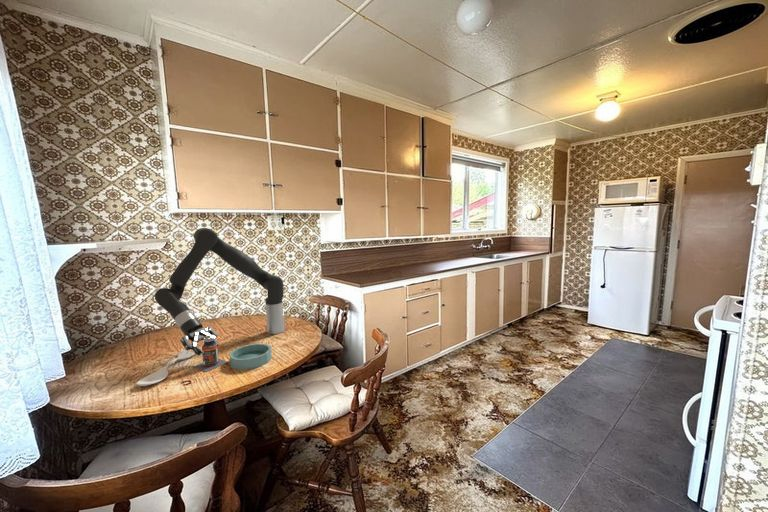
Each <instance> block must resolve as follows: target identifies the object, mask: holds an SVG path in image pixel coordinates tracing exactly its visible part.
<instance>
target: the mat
mask: <svg viewBox="0 0 768 512" xmlns="http://www.w3.org/2000/svg"><path fill="white" fill-rule="evenodd" d="M226 364H229V361H227V360H224V359H221V358H218V363H217V364H216V365H214V366H211V367H205V366H203V362H201V363H198V364H197V365H194V366H192V368H194V369H197V370H199V371H202V372H205V373H208V372H210V371H213V370H215V369H216V368H220V367H221V366H224V365H226Z"/></svg>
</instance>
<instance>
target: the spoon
mask: <svg viewBox="0 0 768 512" xmlns="http://www.w3.org/2000/svg"><path fill="white" fill-rule="evenodd" d="M199 349H200V350H201V347H199ZM193 355H196V354H195V352H194V351H193V350H191V349H189V350H186V349H184V348H181V349H180V351H179V352H178V354H177V357H175V358H173V359H172V360H169V361H168V362H166V364H165V365H164V366H163V367H161V368H160V369H158V370H156V371H154V372H152V373H150V374H148V375H146V376H144V377H142V378H141V379H139V380H138V381H136V383H135V384H136V385H137V386H139V387H145V386H150V385H154V384H158V383H159V382H162V381H163V380H164V379H166V378H167V377H168V375H169V369H168V367H169V366H171V365H174V364H175V362H177V361H181V360H186V359H189V358H191V357H192V356H193Z"/></svg>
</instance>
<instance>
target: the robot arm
mask: <svg viewBox="0 0 768 512" xmlns="http://www.w3.org/2000/svg"><path fill="white" fill-rule="evenodd" d="M193 239H194V241H195V242H194V243H193V246H192V247H191V250H189V252H188V254H187V255H186V256H184V258H183V259H182V260H181V262H180V263H179V264H178V265H177V266H176V268H175V269H174V271H173V272H172V274H171V276H170V277H169V279H168V281H169V283H171V285H170V288H168V287H162V288H159V289H157V290H156V291H155V293H154V299H155V302H157V304H158V305H159V306H160V307H161V308H162V309H163V310H165V311H167V313H169V315H170V316H171V318H172V319H173V321H174V322H175V324H176V326H177V327H178V328H179V329H180V330H181V332H182V334H183V336H182V337H181V338H180V339H179V340H180V342H181V344H182V346H183V347H184V348H185V349H186V350H185V349H184V350H185V351H187V350H188V351H190V350H191V351H194V352H195V354H194V355H196V356H200V355H202V349H201V348H200V347H199V346H198V345H197V344H198V343H200V341H204V340H206V339H210V338H213V339H214V341H215V343H216V344H217V348H218V347H219V346H220V343H219V342H218V340H217V338H218V336H219V334H218V332H216V331H215V329H214V328H213V327H212V326H211V325H210V326H208V327H207V328H204V327H203V324H202V323H201V321H200V320H199V319H198V317H197V316H196V315H195V313H193V311H191V310H190V309H189V307H188V305H187V304H186V303H184V302H183V301H180V300H181V299H182V297H183V294H184V291H185V289H186V285H187V283H188V282H189V280H190V278H191V277H192V276H193V274H194V272H195V270H196V269H197V268H198V266H199V265H200V263H201V262H202V261H203V259H204V258H205V256H206V255H208V253H209V252H210V251H211V252H213V253H214V254H215V255H217V256H218V257H219V258H220V259H222V260H223V261H224V262H225V263H227V265H229V266H231V267H232V268H233V269H235V270H236V271H238V272H240V273H241V274H242V275H244V276H247V277H248V278H251V279H252V280H254V281H255V282H256V283H258V284H259V285H260V286H261V287H262V288H263V289H265V290H267V297H266V298H265V299H264V301H265V302H264V303H265V315H266V330H267V334H268V335H278V334H282V333H283V332H284V331H285V330H286V317H285V314H284V306H283V305H284V304H283V302H284V301H283V300H284V293H285V291H284V281H283V279H282V277H280V276H278V275H275V274H272V273H269V272H267V271H266V270H264V269H263V268H261V267H260V266H259V265H258V263H257V262H256V261H255V260H254V259H253V258H252V257H250V256H249V255H248V254H246V253H245V252H243V251H242V250H240V249H238V248H236V247H235V246H232V245H230V244H229V243H227V242H225V241H224V240H223V239H221V238H220V237H219V235H218V234H217V232H216V231H215V230H214V229H211V228H209V227H208V228H207V227H202V228H198V229H197V230H195V231H194V234H193ZM190 341H191V342H190ZM199 348H200V349H199Z"/></svg>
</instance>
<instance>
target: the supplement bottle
mask: <svg viewBox="0 0 768 512" xmlns="http://www.w3.org/2000/svg"><path fill="white" fill-rule="evenodd" d="M201 351H202V353H201V355H202V363H203V366H205V367H211V366H214V365H216V364H217V363H218V359H219V353H218V351H219V349H218V347H217V344H216V343H215V341H214V339H213V338H210V339H206V340H203V345H202V346H201Z"/></svg>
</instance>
